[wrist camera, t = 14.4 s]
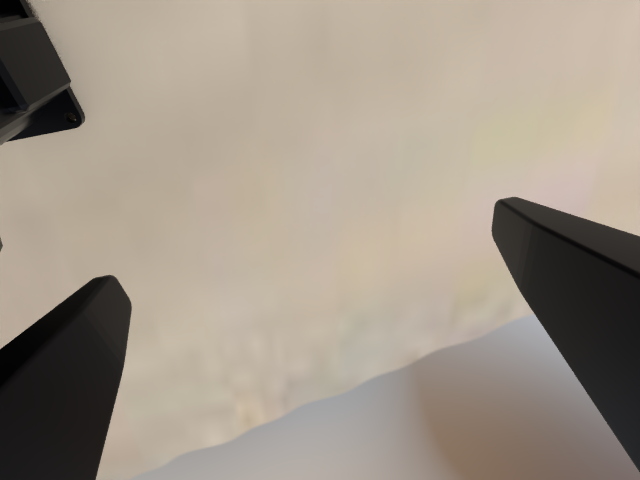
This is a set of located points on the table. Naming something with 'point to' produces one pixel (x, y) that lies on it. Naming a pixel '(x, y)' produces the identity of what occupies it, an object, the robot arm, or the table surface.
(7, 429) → the robot arm
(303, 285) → the table surface
